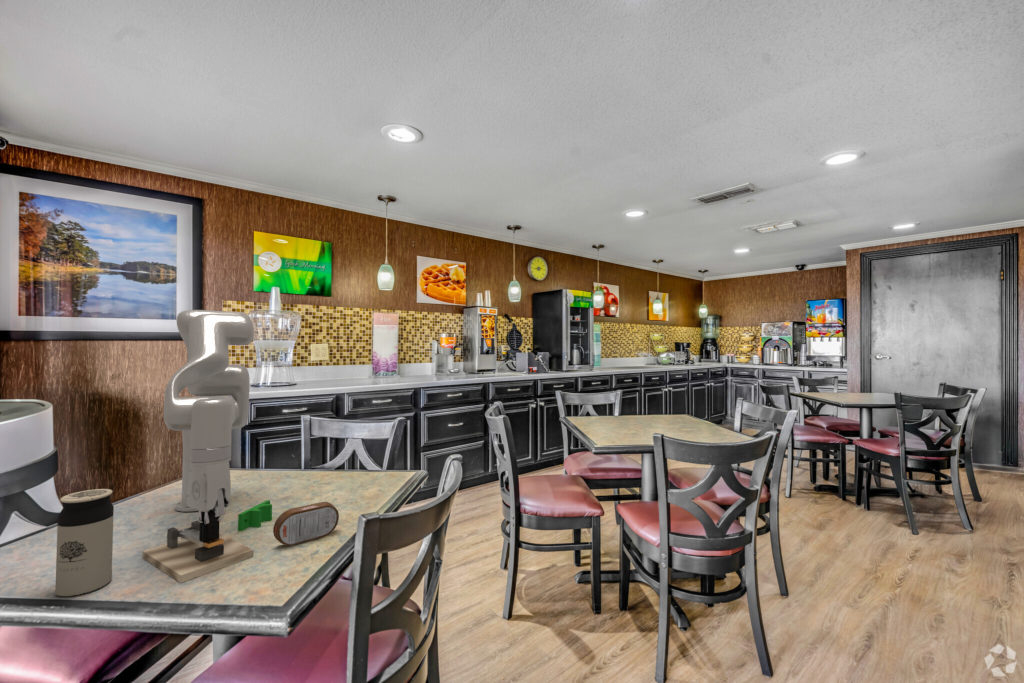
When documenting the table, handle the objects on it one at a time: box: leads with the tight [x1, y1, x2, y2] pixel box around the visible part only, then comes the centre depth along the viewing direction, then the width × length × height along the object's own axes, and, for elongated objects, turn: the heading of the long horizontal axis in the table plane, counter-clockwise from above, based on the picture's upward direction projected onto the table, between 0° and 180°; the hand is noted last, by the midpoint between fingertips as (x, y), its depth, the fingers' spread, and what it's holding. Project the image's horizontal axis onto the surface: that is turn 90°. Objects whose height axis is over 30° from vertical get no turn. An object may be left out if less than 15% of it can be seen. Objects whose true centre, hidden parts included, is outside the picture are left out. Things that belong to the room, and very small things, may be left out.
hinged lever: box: [178, 526, 224, 548], centre depth 100 cm, size 16×3×1 cm, turn 57°
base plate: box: [141, 520, 254, 584], centre depth 100 cm, size 20×14×6 cm
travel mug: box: [54, 488, 115, 597], centre depth 88 cm, size 8×8×18 cm
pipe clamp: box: [237, 499, 273, 532], centre depth 120 cm, size 11×4×5 cm, turn 173°
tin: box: [272, 501, 340, 547], centre depth 110 cm, size 15×3×8 cm, turn 135°
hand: (209, 539), depth 97 cm, fingers closed
